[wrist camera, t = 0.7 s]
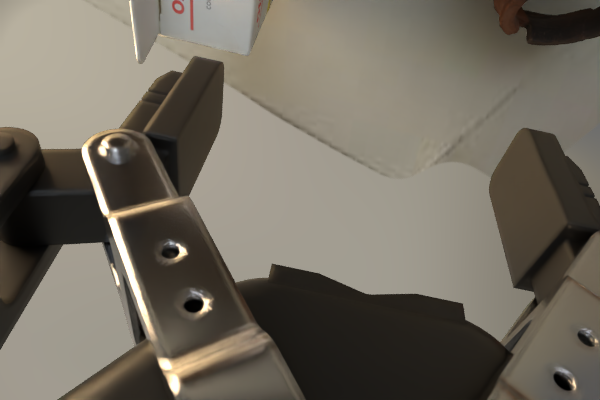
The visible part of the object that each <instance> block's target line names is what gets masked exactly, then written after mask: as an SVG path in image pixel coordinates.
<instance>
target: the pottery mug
mask: <svg viewBox="0 0 600 400" xmlns="http://www.w3.org/2000/svg"><path fill="white" fill-rule="evenodd" d="M526 1H527V0H494V8H495V10H496V12H497V13H498V14H499V15H500V16H499V22H500V27H501V28H502V30H503V31H504V32H505V33H506V34H508V35H511V34H515V33H517V32H518V31H519V26H520V27H524V28H526V30H527V35H526V40H527V42H528V44H532V45H560V44H569V43H575V42H579V41H583V40H585V39H591V38H595V37H598V36H600V6H599V7H598V8H596V9H594V10H593V9H591V8H588V9H583V10H579V11H575V12H571V13H567V14H561V15H545V14H540V13H535V12H530V11H526V10H523V9H522V6H523V4H524V3H525V2H526Z"/></svg>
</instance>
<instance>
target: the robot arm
mask: <svg viewBox="0 0 600 400" xmlns="http://www.w3.org/2000/svg"><path fill="white" fill-rule="evenodd" d="M223 82H224V64H223V62H220V61H215V60H211V59H206V58H201V57H197V56H194V57H193V58H192V60H191V61H190V63H189V64H188V66H187V67H186V69H185V70H184V72H183V73H180V72H176V71H170V72H168V73H166V74H165V75H163V76H161V77H159V78H157V79H156V80H155V81H154V83H153V84H152V85H151V87H150V88H149V90H148V92H146V93H145V95H144V96H143V98H142V100H141V101H139V103H138V104H137V105H136V107H135V108H134V109H133V110H132V112H131V113H130V114H129V116H128V117H127V118H126V120H125V121H124V122H123V124H122V125H121V126H120V128H119V129H110V130H106V131H102V132H99V133H97V134H95V135H93V136H92V137H90V138H89V139H88V140H87V141H86V142H85V143H84V145H83V147H82V148H81V149H41V147H40V144H39V141H38V139H37V137H36V136H35V135H34V134H33V133H31V132H29V131H27V130H24V129H20V128H13V127H2V128H0V349H1V348H2V346H3V344H4V343H5V341H6V339H7V338H8V336H9V334H10V332H11V331H12V329H13V327H14V326H15V324H16V322H17V321H18V319H19V317H20V316H21V314H22V312H23V311H24V309H25V307H26V306H27V304H28V302H29V301H30V299H31V297H32V296H33V294H34V292H35V291H36V289H37V287H38V286H39V284H40V282H41V281H42V279H43V277H44V276H45V274H46V272H47V271H48V269H49V267H50V266H51V264H52V262H53V261H54V259H55V257H56V256H57V254H58V252H59V250H60V249H61V247H62V246H63V244H80V243H97V242H102V244H103V247H104V250H105V253H106V256H107V259H108V262H109V266H110V269H111V272H112V275H113V278H114V281H115V284H116V287H117V289H118V293H119V296H120V299H121V302H122V305H123V308H124V312H125V316H126V320H127V324H128V327H129V331H130V334H131V338H132V341H133V343H134V348H132V349H131V350H129V351H128V352H126V353H125V354H123V355H122V356H120V357H119V358H117V359H116V360H115V361H113V362H112V363H110V364H109V365H107V366H106V367H104V368H103V369H102V370H100V371H99V372H97V373H96V374H94V375H93V376H91V377H90V378H88V379H87V380H85V381H84V382H83V383H82V384H80V385H78V386H77V387H75V388H74V389H72V390H71V391H69V392H68V393H66V394H65V395H64V396H62V397H61V398H59V399H58V400H600V206H599V203H598V201H597V199H595V198H594V193H593V192H592V190H591V188H590V187H588V185H589V184H588V182H587V180H586V178H585V176H584V174H583V172H582V170H581V169H580V168H579V167H578V166H577V165H576V164H575V163H574V162H573V161H572V160H571V159H570V158H569V157H568V156H565V154H564V152H563V150H562V148H561V146H560V144H559V142H558V140H557V138H556V136H555V135H554V134H551V133H547V132H542V131H537V130H533V129H528V128H523V129H521V130H520V131H519V132H518V133H517V134H516V136H515V138H514V139H513V141H512V143H511V144H510V146H509V148H508V149H507V151H506V152H505V154H504V156H503V157H502V159H501V161H500V162H499V164H498V166H497V167H496V169H495V171H494V173H493V175H492V177H491V181H490V186H489V193H490V198H491V202H492V206H493V209H494V213H495V217H496V221H497V225H498V229H499V233H500V236H501V240H502V244H503V248H504V252H505V256H506V260H507V263H508V267H509V271H510V275H511V279H512V283H513V287H514V288H518V289H523V290H528V291H532V292H534V294H535V298H534V299H533V300H532V301H531V302H530V303H529V304H528V305H527V307H526V308H525V309H524V311H523V312H522V314H521V315H520V316H519V318H518V319H517V320H516V322H515V323H514V325H513V326H512V327H511V329H510V330H509V331H508V333H507V334H506V335H505V337H504V338H503V339H502V341H501V342H499V341H497V340H496V339H495V338H494V337H493V336H491V335H490V334H488V333H487V332H486V331H484V330H483V329H481V328H480V327H478V326H476V325H474V324H472V323H470V322H468V321H466V320H465V315H464V308H463V304H462V303H457V302H452V301H448V300H442V299H438V298H433V297H429V296H423V295H419V294H385V295H369V294H365V293H362V292H360V291H357V290H355V289H353V288H351V287H348V286H346V285H344V284H342V283H339V282H337V281H335V280H332V279H330V278H328V277H326V276H323V275H321V274H319V273H314V272H309V271H304V270H299V269H295V268H290V267H285V266H280V265H276V264H272V266H271V270H270V274H269V278H256V279H249V280H244V281H240V282H236V283H235V281H234V279H233V277H232V275H231V273H230V271H229V270H228V268H227V266H226V264H225V262H224V260H223V258H222V256H221V255H220V253H219V251H218V249H217V247H216V245H215V243H214V241H213V239H212V237H211V236H210V234H209V232H208V230H207V228H206V226H205V224H204V222H203V220H202V219H201V217H200V215H199V213H198V211H197V209H196V207H195V205H194V204H193V202H192V200H191V199H190V197H189V194H190V192H191V190H192V188H193V186H194V184H195V181H196V180H197V177H198V175H199V173H200V171H201V169H202V167H203V165H204V162H205V160H206V158H207V156H208V154H209V152H210V149H211V147H212V145H213V143H214V141H215V139H216V137H217V134H218V131H219V128H220V124H221V118H222V103H223Z"/></svg>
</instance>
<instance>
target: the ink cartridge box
mask: <svg viewBox="0 0 600 400" xmlns="http://www.w3.org/2000/svg"><path fill="white" fill-rule="evenodd" d="M272 1H273V0H129V3H130V11H131V18H132V27H133V34H134V42H135V50H136V60H137V62H138V63H139V64H142V63H143V62H144V61H145V59H146V57H147V55H148V53H149V51H150V49H151V47H152V45H153V43H154V41H155V39H156V38H157V35H160V36H163V37H168V38H173V39H178V40H182V41H187V42H191V43H196V44H200V45H204V46H208V47H212V48H217V49H221V50H225V51H228V52H233V53H237V54H241V55H245V56H248V55H249V54H250V52H251V49H252V47H253V45H254V42H255V40H256V37H257V35H258V32H259V30H260V28H261V25H262V23H263V21H264V19H265V16H266V14H267V12H268V10H269V8H270V5H271V3H272Z"/></svg>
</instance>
